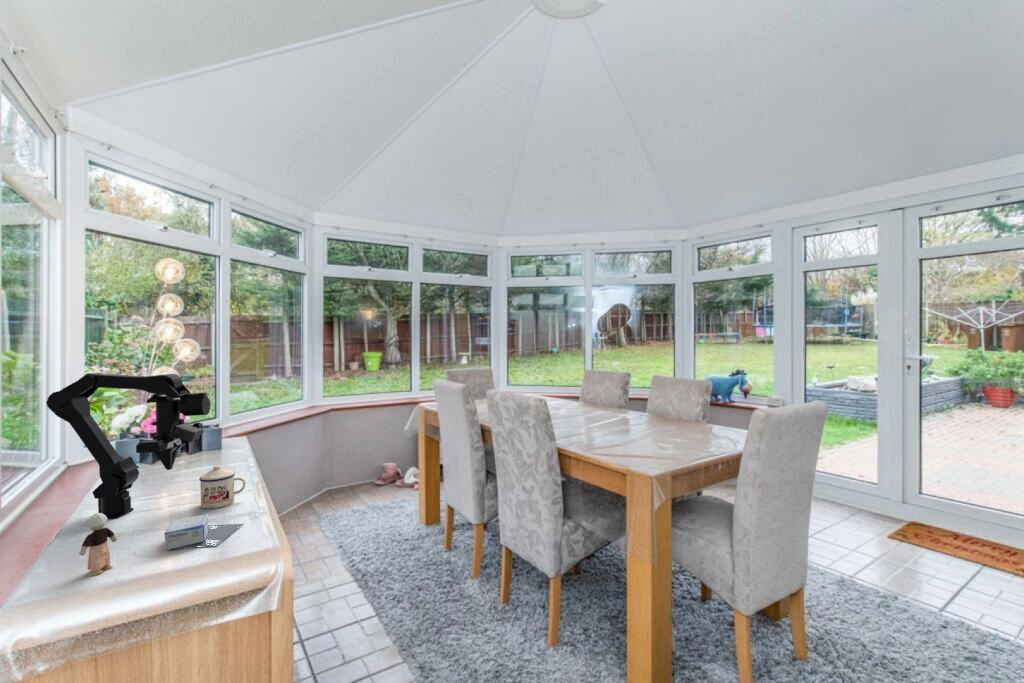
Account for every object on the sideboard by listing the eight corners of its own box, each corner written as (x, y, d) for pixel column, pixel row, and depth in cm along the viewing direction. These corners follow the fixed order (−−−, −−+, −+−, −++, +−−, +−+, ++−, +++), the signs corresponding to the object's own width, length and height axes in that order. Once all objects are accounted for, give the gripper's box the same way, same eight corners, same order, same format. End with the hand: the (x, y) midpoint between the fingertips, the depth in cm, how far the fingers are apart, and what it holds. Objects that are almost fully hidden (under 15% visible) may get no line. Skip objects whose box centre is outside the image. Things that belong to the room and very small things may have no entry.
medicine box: (172, 538, 117) (165, 551, 109) (170, 520, 117) (163, 532, 109) (209, 529, 121) (204, 542, 113) (207, 513, 121) (203, 524, 113)
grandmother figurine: (102, 563, 104) (101, 507, 104) (120, 562, 104) (119, 507, 104) (73, 581, 96) (71, 521, 96) (92, 580, 97) (91, 520, 97)
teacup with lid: (197, 511, 135) (196, 471, 135) (202, 501, 143) (201, 464, 143) (244, 504, 140) (244, 466, 140) (247, 495, 148) (246, 459, 148)
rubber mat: (178, 548, 111) (178, 547, 111) (208, 526, 124) (208, 525, 124) (217, 546, 112) (217, 545, 112) (243, 524, 125) (243, 523, 125)
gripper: (176, 421, 128) (178, 478, 128) (214, 411, 146) (215, 460, 146) (133, 423, 127) (135, 479, 127) (177, 411, 145) (178, 461, 145)
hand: (169, 469), depth 136 cm, fingers closed
